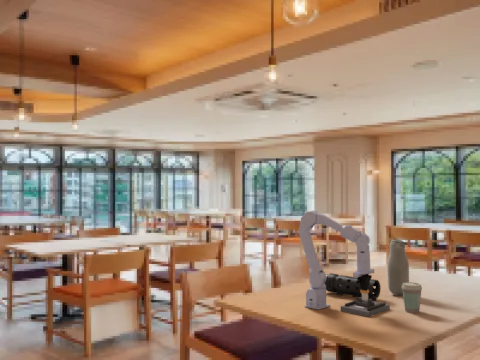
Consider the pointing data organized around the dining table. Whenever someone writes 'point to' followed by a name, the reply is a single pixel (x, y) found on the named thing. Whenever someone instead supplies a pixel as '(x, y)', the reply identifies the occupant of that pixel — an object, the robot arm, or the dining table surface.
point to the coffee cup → (412, 296)
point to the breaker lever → (364, 294)
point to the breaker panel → (365, 307)
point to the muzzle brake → (350, 286)
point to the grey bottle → (397, 267)
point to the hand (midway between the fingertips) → (364, 291)
